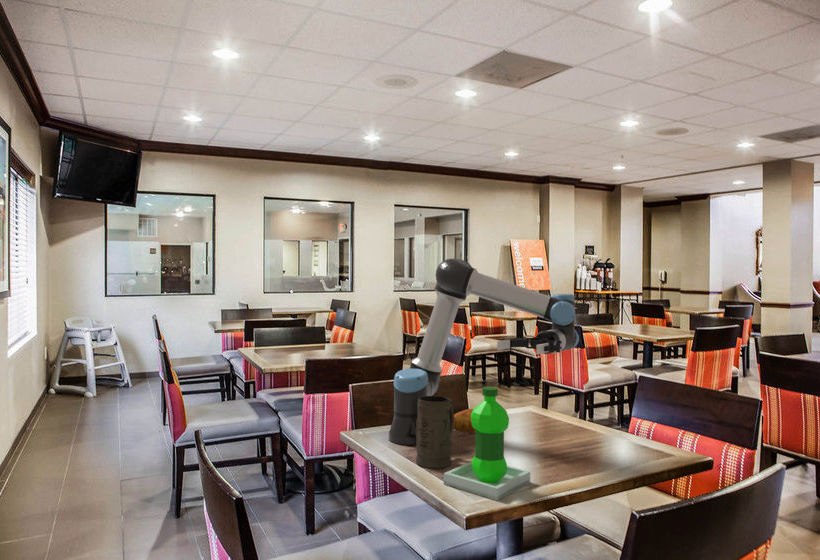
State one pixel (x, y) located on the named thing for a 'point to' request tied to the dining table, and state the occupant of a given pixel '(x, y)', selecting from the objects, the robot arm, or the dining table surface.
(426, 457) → the beer stein
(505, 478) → the tray
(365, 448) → the dining table surface
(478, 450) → the plastic bottle
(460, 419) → the bread loaf
